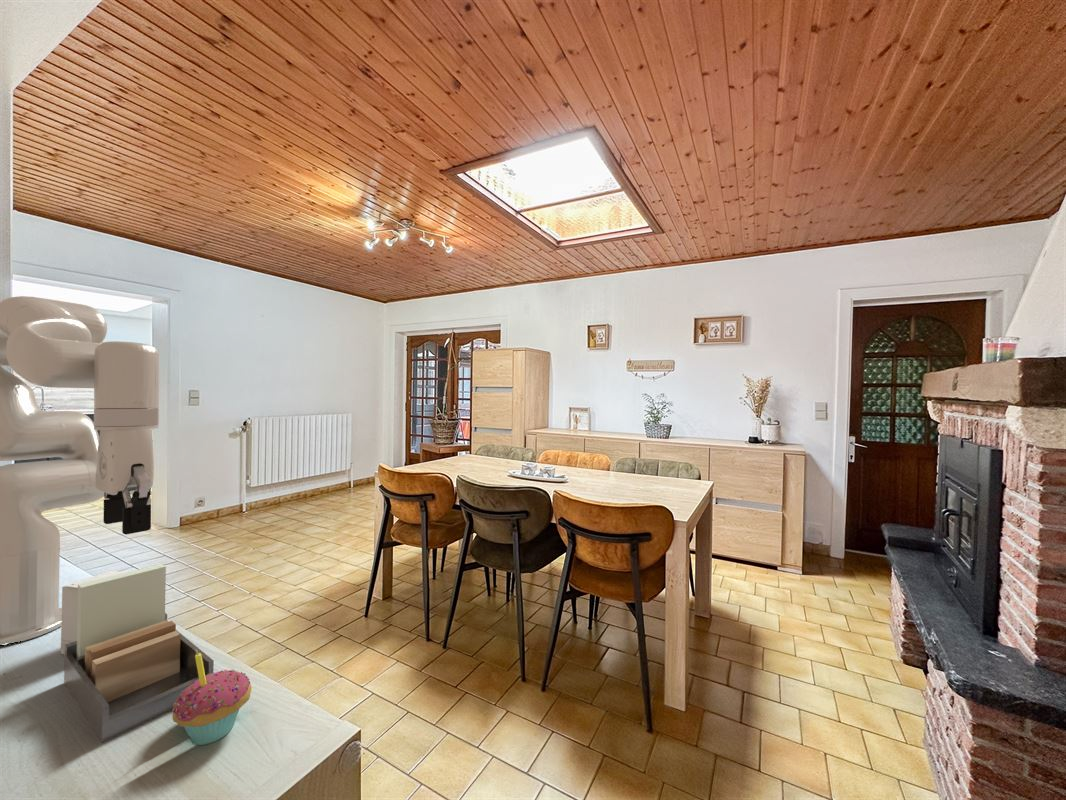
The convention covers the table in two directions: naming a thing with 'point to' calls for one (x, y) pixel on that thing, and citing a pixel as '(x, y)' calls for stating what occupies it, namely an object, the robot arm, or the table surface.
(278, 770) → the table surface
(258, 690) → the table surface
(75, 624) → the supplement box
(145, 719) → the bin
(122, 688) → the offcuts
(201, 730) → the cupcake
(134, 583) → the grey flat panel
